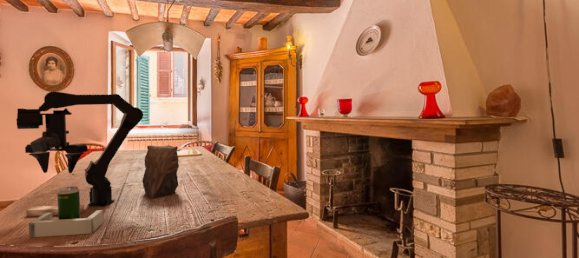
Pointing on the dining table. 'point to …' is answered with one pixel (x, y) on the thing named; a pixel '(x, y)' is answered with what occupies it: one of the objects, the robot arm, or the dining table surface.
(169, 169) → the brown paper bag
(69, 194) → the guarana soda can
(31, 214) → the slat
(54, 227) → the beige u-shaped bracket
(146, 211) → the dining table surface
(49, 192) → the dining table surface
